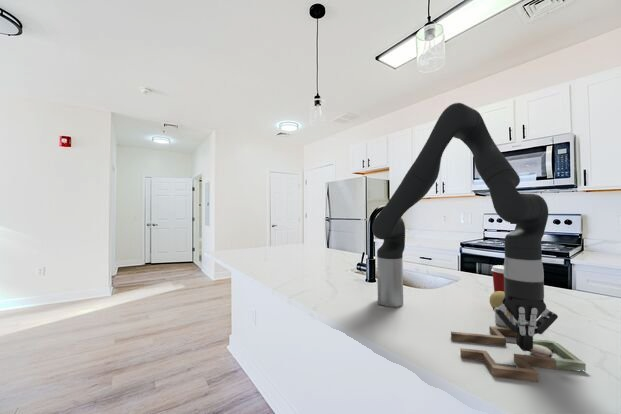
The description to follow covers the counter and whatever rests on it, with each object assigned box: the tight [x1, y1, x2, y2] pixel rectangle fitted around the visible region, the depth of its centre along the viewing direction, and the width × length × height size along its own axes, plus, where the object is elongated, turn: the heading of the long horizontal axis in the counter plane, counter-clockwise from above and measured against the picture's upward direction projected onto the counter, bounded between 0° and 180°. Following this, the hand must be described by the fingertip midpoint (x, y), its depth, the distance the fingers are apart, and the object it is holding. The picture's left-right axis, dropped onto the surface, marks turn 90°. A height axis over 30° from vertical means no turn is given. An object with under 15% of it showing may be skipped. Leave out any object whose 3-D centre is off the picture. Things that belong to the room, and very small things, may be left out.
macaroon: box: [529, 344, 553, 358], centre depth 65 cm, size 4×5×2 cm
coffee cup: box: [491, 264, 504, 293], centre depth 93 cm, size 8×8×15 cm
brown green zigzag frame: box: [450, 325, 587, 383], centre depth 66 cm, size 24×23×2 cm
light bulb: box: [489, 291, 511, 328], centre depth 82 cm, size 6×6×10 cm
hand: (524, 349), depth 65 cm, fingers closed
